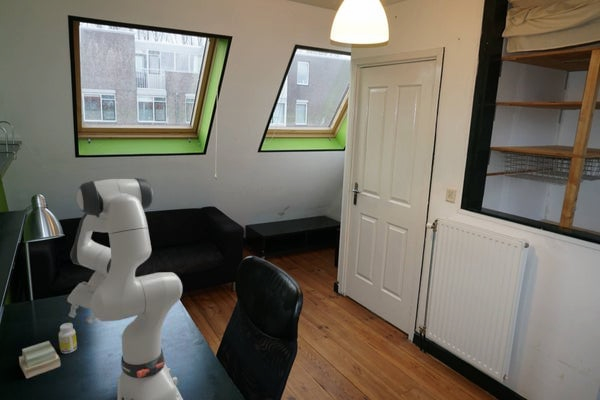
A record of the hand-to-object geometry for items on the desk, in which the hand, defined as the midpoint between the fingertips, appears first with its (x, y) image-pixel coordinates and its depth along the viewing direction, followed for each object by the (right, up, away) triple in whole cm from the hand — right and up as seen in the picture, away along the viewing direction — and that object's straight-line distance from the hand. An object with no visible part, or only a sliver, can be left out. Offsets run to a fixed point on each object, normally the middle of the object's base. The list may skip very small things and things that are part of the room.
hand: (79, 319), depth 153 cm
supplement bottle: (-3, -10, -3) cm, 11 cm away
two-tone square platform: (-7, -12, -13) cm, 19 cm away
